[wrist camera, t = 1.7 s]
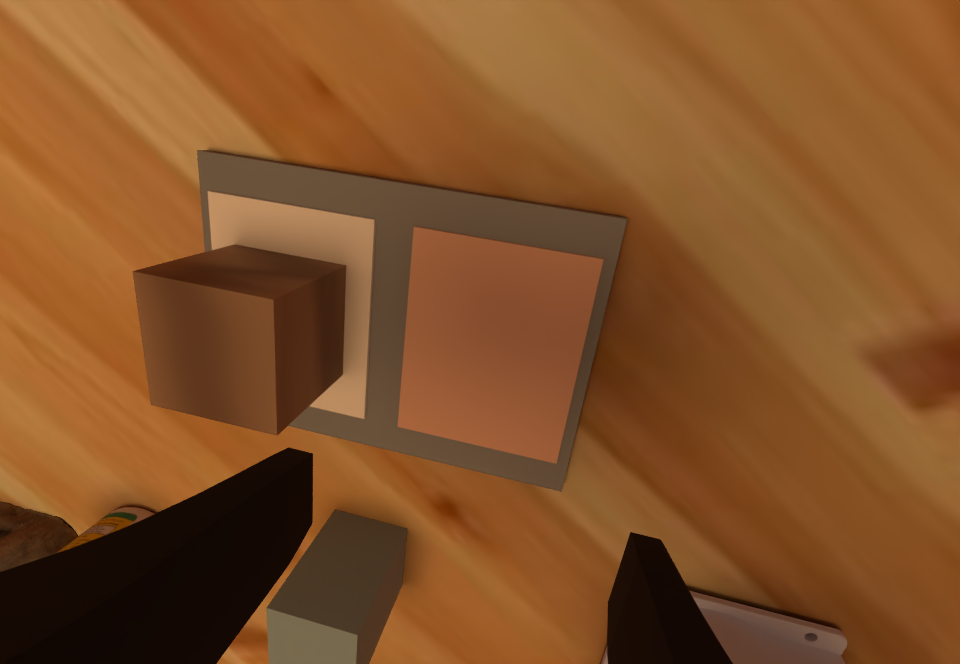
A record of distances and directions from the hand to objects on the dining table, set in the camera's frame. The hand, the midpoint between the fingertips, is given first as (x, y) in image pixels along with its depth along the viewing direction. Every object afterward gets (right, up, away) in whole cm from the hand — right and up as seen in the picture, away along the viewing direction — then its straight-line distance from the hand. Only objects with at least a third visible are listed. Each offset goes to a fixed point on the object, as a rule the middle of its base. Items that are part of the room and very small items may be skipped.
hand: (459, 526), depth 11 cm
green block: (-5, -7, +15) cm, 18 cm away
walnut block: (-8, +5, +10) cm, 14 cm away
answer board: (-3, +5, +10) cm, 12 cm away
